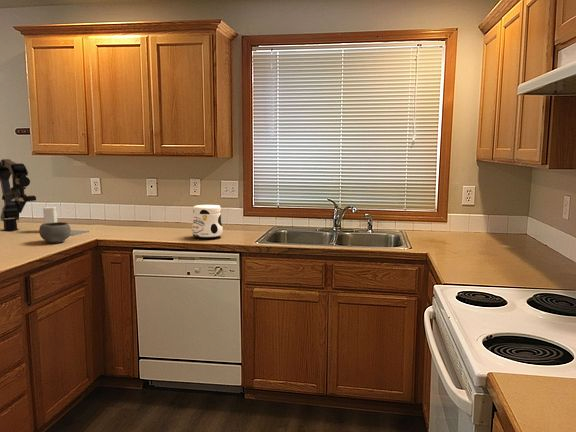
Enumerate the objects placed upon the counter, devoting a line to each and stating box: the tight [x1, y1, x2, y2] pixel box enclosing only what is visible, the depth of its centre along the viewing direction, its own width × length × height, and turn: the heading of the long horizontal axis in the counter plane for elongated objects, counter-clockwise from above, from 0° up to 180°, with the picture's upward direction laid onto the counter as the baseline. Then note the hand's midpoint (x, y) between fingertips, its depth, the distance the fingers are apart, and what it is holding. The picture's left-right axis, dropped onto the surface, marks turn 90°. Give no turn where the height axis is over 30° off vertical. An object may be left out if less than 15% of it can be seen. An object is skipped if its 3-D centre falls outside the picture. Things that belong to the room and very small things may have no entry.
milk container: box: [191, 204, 224, 239], centre depth 281 cm, size 17×17×18 cm
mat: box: [69, 229, 89, 236], centre depth 291 cm, size 16×14×1 cm
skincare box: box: [42, 206, 58, 224], centre depth 293 cm, size 8×6×15 cm
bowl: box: [38, 221, 72, 244], centre depth 262 cm, size 15×15×10 cm
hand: (19, 212), depth 283 cm, fingers closed
